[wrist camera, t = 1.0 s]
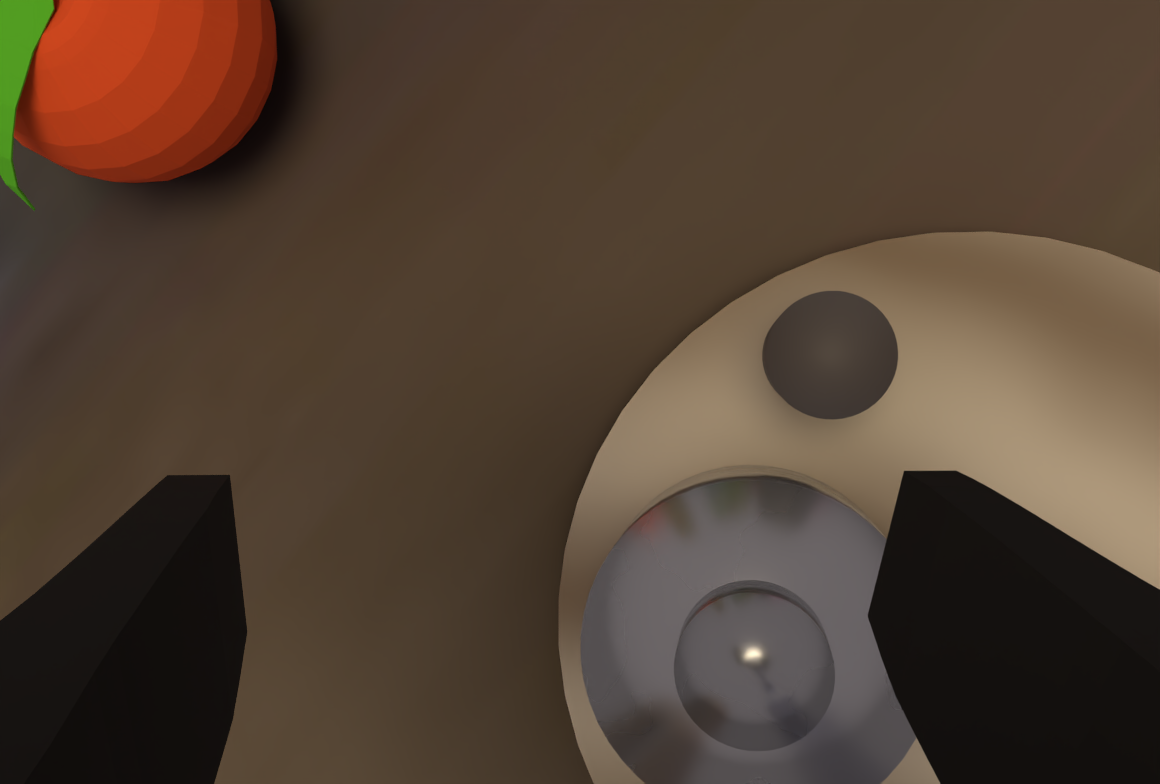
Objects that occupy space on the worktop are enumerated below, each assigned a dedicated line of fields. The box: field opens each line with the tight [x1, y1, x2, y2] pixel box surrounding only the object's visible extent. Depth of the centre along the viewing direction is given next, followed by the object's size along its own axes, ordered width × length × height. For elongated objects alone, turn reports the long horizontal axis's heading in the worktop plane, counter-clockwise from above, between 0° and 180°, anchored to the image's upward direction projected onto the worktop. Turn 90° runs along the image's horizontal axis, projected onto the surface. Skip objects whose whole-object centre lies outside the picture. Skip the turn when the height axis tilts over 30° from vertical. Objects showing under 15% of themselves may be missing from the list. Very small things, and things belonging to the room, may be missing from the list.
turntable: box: [559, 232, 1160, 784], centre depth 21 cm, size 18×18×5 cm
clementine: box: [0, 0, 277, 210], centre depth 24 cm, size 8×7×7 cm
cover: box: [581, 465, 916, 784], centre depth 21 cm, size 7×7×4 cm
